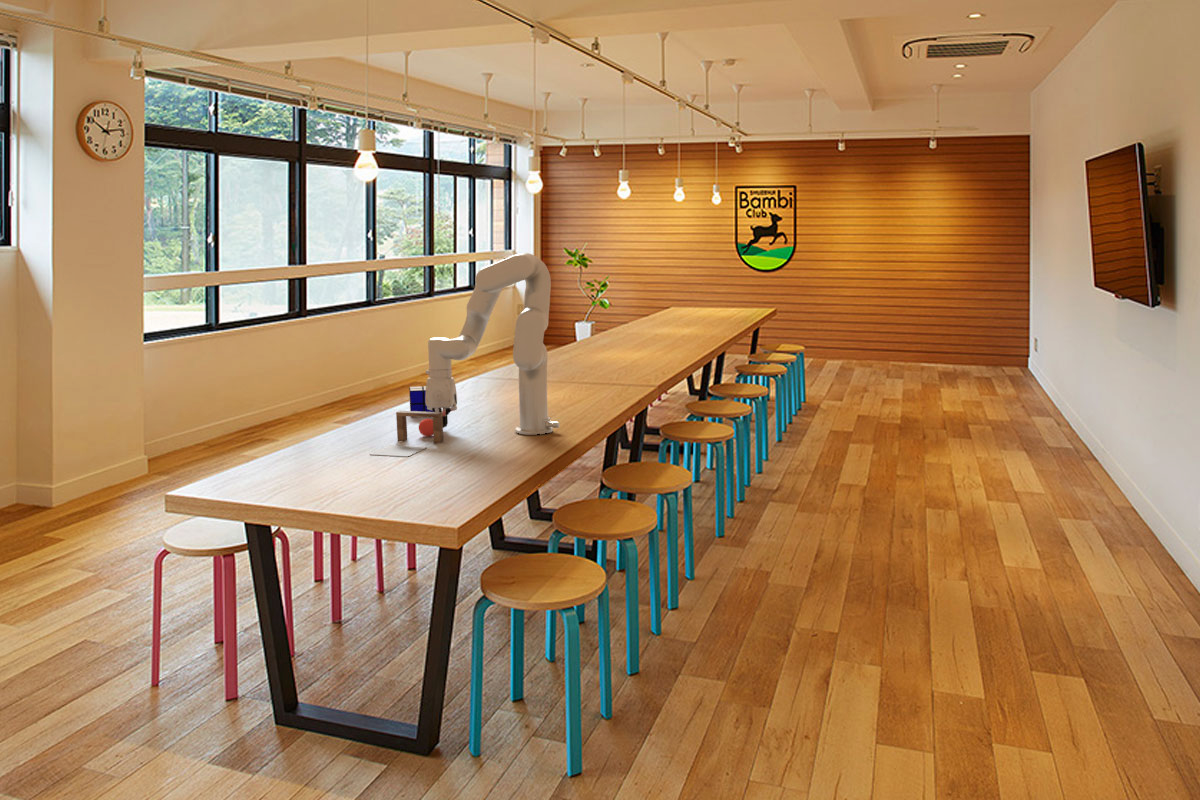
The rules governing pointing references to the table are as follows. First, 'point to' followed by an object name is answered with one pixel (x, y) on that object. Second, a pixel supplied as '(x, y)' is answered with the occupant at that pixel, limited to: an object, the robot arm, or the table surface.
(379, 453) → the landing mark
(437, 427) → the bridge
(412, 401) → the puzzle cube
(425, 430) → the ball
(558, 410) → the table surface
